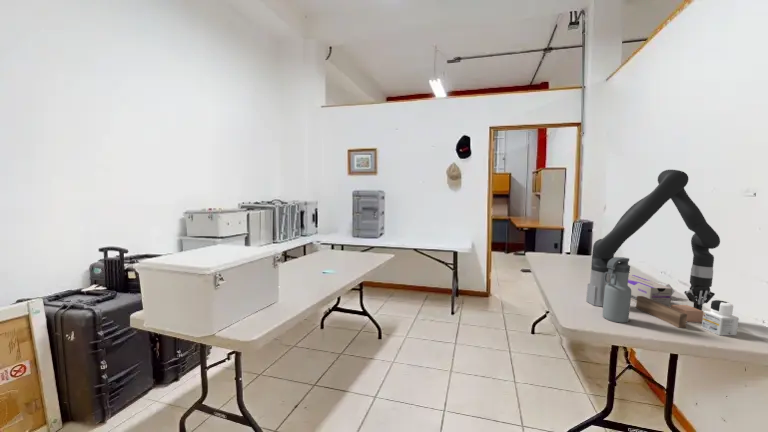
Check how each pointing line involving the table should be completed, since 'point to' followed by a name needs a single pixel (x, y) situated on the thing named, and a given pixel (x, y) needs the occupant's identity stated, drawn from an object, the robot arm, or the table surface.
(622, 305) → the water bottle
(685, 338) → the table surface
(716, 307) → the container
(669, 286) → the die
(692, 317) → the block
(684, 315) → the stop board
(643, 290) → the surgical sutures box
